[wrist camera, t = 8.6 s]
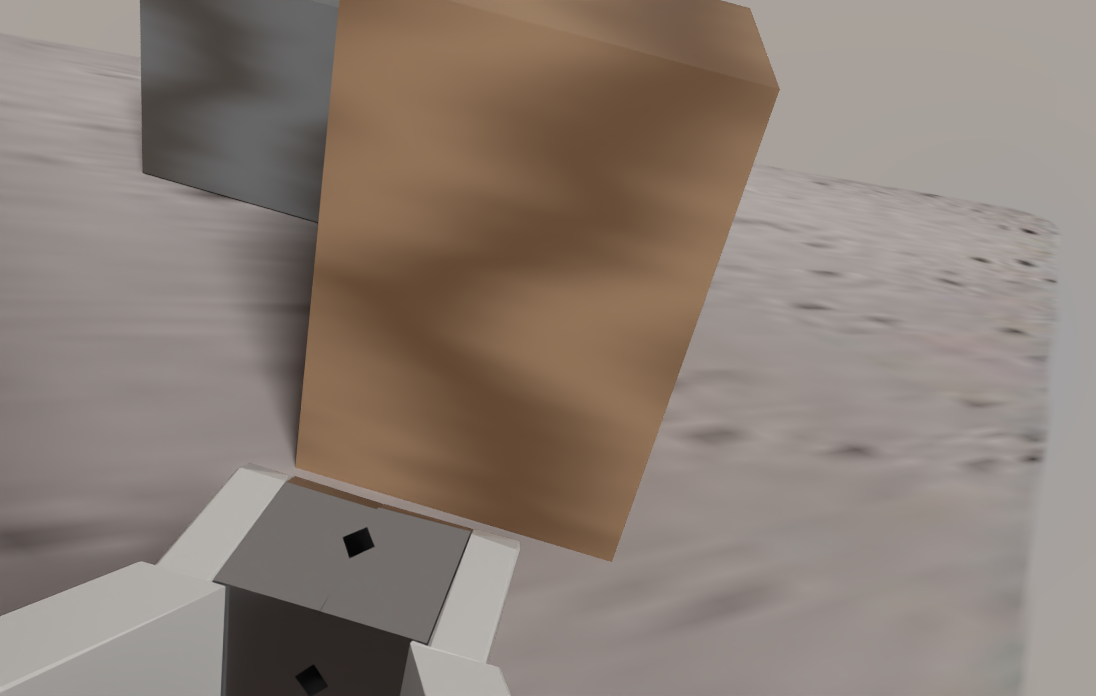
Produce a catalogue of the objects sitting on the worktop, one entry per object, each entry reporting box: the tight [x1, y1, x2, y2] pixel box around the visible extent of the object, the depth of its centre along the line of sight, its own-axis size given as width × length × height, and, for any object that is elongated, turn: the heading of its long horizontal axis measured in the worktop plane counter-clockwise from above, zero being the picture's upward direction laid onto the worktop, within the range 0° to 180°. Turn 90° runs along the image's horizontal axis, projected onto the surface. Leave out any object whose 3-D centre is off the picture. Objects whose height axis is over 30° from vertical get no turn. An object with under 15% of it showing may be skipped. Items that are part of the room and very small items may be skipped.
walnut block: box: [295, 0, 780, 562], centre depth 21 cm, size 7×12×10 cm, turn 170°
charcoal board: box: [140, 0, 339, 222], centre depth 28 cm, size 18×4×7 cm, turn 80°
